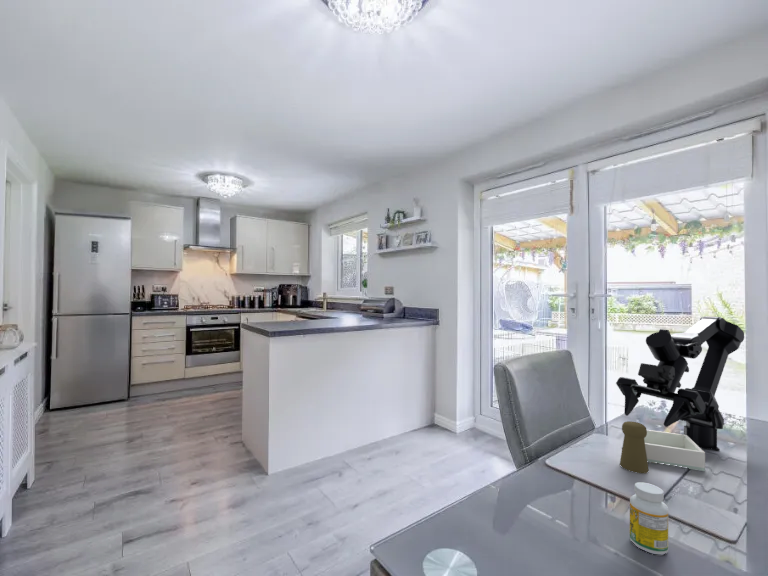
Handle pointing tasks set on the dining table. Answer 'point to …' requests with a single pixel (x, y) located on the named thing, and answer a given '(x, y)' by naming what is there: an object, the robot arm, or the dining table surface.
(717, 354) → the robot arm
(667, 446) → the open box
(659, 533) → the supplement bottle
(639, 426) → the cork
